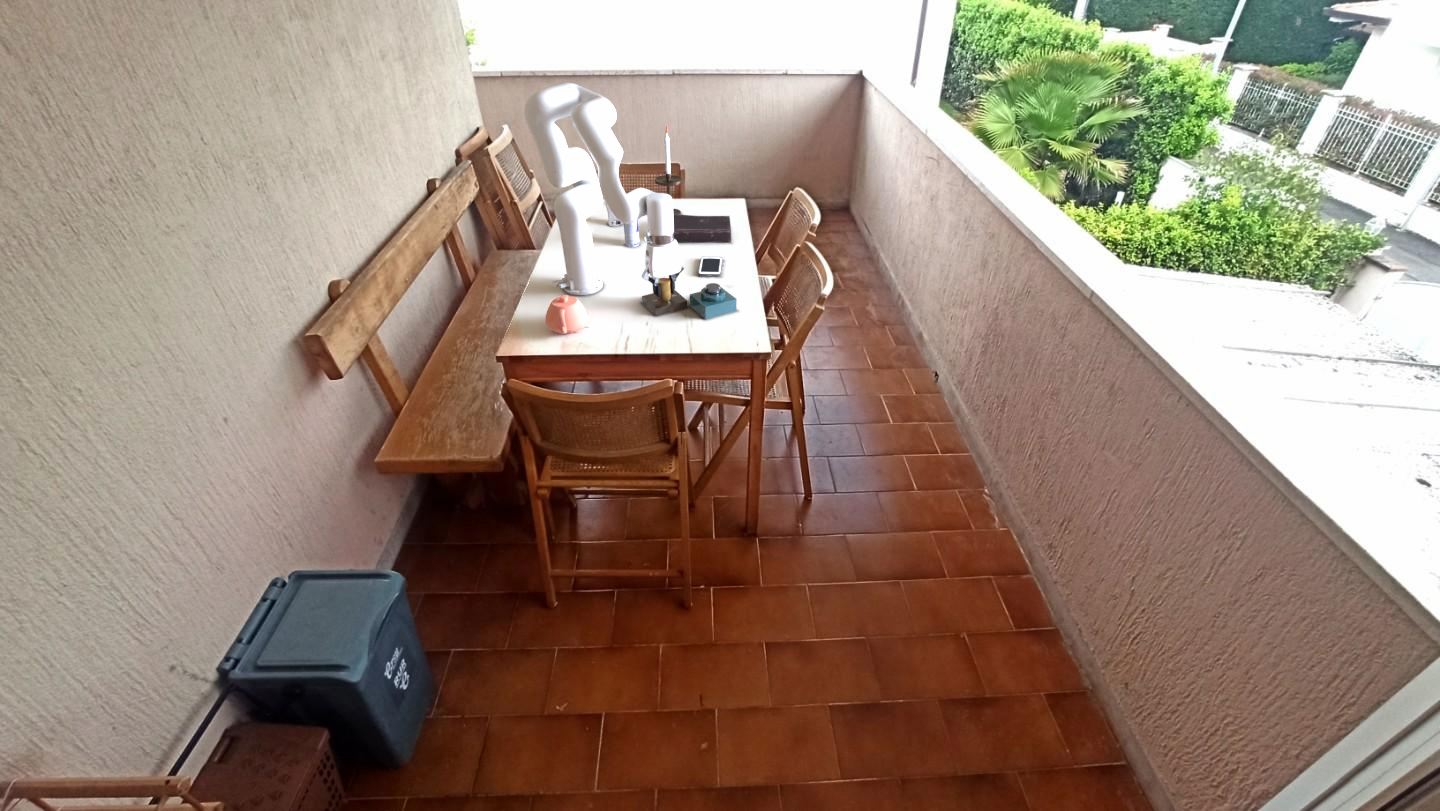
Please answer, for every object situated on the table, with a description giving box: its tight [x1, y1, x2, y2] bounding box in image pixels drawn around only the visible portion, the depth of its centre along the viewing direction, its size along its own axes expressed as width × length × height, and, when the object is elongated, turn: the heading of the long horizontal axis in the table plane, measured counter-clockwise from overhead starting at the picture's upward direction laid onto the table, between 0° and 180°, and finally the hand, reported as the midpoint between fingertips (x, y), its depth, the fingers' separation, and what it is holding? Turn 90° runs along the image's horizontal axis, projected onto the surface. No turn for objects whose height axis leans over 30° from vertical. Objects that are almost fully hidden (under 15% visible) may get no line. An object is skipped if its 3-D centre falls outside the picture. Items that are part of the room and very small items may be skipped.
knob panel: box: [641, 289, 689, 317], centre depth 201 cm, size 11×10×3 cm
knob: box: [658, 277, 671, 301], centre depth 199 cm, size 4×4×6 cm
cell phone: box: [698, 256, 724, 277], centre depth 224 cm, size 8×15×1 cm, turn 177°
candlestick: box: [654, 124, 683, 215], centre depth 257 cm, size 11×11×35 cm
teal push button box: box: [689, 286, 737, 320], centre depth 199 cm, size 11×10×6 cm
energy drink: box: [623, 219, 641, 248], centre depth 238 cm, size 5×5×12 cm
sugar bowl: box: [545, 294, 589, 335], centre depth 187 cm, size 12×14×10 cm
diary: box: [673, 214, 732, 244], centre depth 248 cm, size 19×25×5 cm
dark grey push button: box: [705, 282, 721, 295], centre depth 196 cm, size 4×4×2 cm
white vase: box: [604, 201, 624, 228], centre depth 254 cm, size 7×7×15 cm
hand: (664, 293), depth 199 cm, fingers closed on knob, 4 cm apart
